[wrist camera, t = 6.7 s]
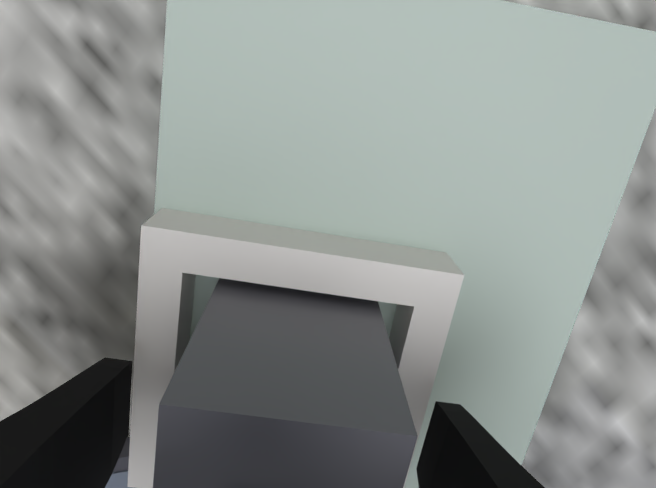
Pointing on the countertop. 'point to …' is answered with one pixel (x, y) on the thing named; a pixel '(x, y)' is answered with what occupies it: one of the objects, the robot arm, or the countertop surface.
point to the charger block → (285, 396)
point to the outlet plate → (392, 185)
